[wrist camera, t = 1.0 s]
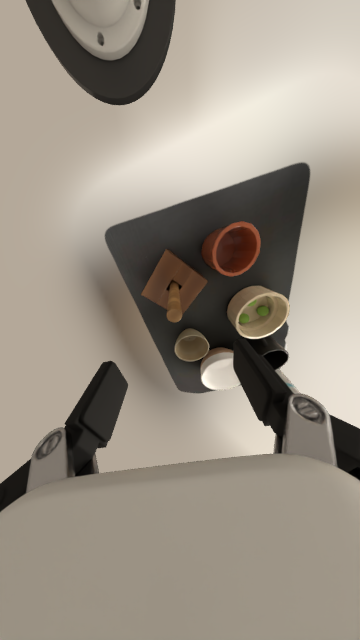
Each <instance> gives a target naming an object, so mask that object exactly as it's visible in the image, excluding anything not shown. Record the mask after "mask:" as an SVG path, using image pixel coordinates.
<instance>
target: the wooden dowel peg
mask: <svg viewBox="0 0 360 640" xmlns="http://www.w3.org/2000/svg"><path fill="white" fill-rule="evenodd" d="M167 318H168V320H169V321H171V322H178V321H180V320H181V318H182V310H181V302H180V294H179V284H178V283H177V282H175V281H174V280H172V281H171V282H170V288H169V297H168V307H167Z"/></svg>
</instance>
